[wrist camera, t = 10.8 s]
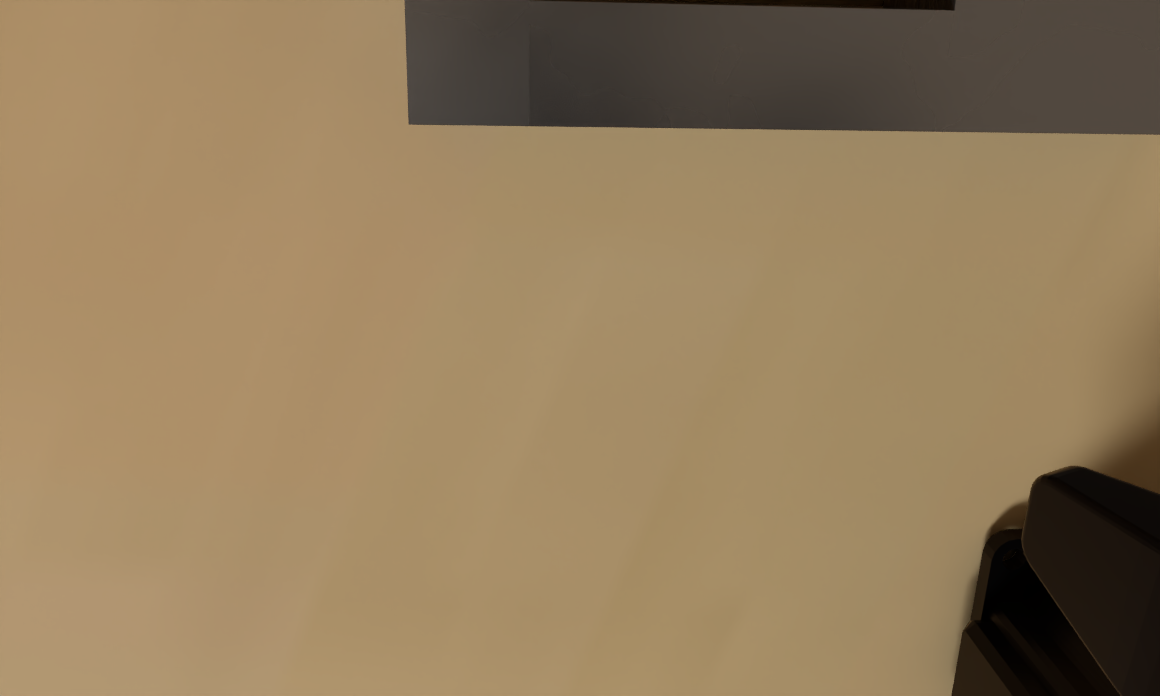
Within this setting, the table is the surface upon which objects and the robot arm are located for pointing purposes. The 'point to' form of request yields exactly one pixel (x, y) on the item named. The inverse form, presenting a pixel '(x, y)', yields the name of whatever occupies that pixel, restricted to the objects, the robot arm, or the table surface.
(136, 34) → the table surface
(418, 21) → the frame
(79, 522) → the table surface
